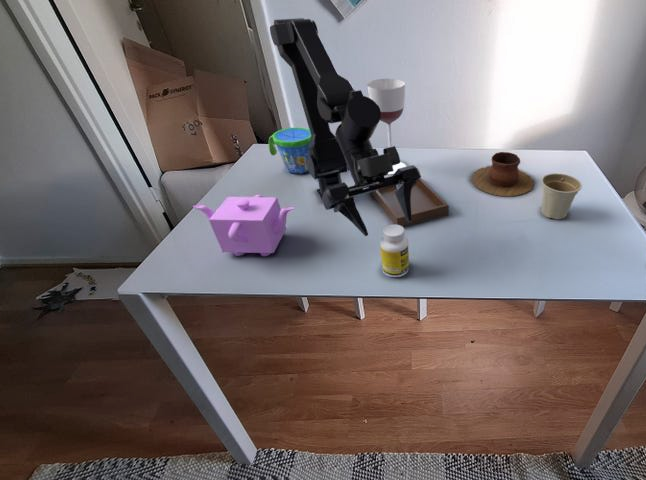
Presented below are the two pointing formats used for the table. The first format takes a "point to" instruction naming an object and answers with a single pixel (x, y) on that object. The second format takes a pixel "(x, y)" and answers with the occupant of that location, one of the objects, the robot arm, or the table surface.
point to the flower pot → (558, 194)
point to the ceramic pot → (503, 176)
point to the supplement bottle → (394, 251)
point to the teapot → (248, 224)
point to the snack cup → (292, 148)
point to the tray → (412, 203)
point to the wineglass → (388, 103)
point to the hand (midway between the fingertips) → (389, 228)
